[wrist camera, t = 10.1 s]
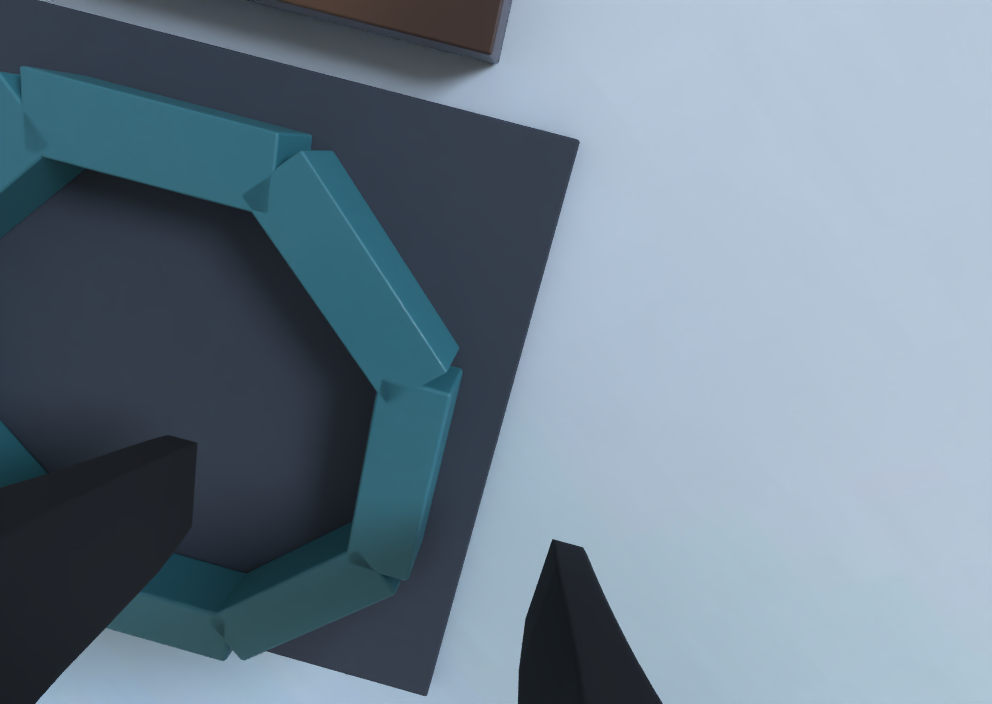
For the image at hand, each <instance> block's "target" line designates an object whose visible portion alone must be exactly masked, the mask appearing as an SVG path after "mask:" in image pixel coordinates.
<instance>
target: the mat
mask: <svg viewBox="0 0 992 704" xmlns="http://www.w3.org/2000/svg"><path fill="white" fill-rule="evenodd" d="M21 66H28V67H35V68H41V69H47V70H53V71H59V72H66V73H72V74H78V75H84V76H89V77H92V78H96V79H100V80H104V81H108V82H112V83H115V84H119V85H123V86H127V87H131V88H135V89H139V90H142V91H146V92H150V93H154V94H158V95H162V96H165V97H169V98H173V99H177V100H181V101H185V102H189V103H192V104H196V105H200V106H204V107H208V108H212V109H215V110H219V111H223V112H227V113H231V114H235V115H239V116H242V117H246V118H250V119H254V120H258V121H262V122H265V123H269V124H273V125H277V126H281V127H285V128H289V129H292V130H296V131H300V132H304V133H308V134H310V135H312V143H311V150H332V151H333V152H334V153H335V155H336V156H337V158H338V159H339V161H340V162H341V164H342V165H343V167H344V169H345V170H346V172H347V173H348V175H349V176H350V178H351V179H352V181H353V183H354V184H355V186H356V187H357V189H358V190H359V192H360V193H361V195H362V197H363V198H364V200H365V201H366V203H367V204H368V206H369V207H370V209H371V211H372V212H373V214H374V215H375V217H376V218H377V220H378V222H379V223H380V225H381V226H382V228H383V229H384V231H385V232H386V234H387V236H388V237H389V239H390V240H391V242H392V243H393V245H394V246H395V248H396V250H397V251H398V253H399V254H400V256H401V257H402V259H403V260H404V262H405V264H406V265H407V267H408V268H409V270H410V271H411V273H412V274H413V276H414V278H415V279H416V281H417V282H418V284H419V285H420V287H421V288H422V290H423V292H424V293H425V295H426V296H427V298H428V299H429V301H430V302H431V304H432V306H433V307H434V309H435V310H436V312H437V313H438V315H439V316H440V318H441V320H442V321H443V323H444V324H445V326H446V327H447V329H448V330H449V332H450V334H451V335H452V337H453V338H454V340H455V341H456V343H457V344H458V346H459V350H458V352H457V354H456V356H455V358H454V359H453V361H452V363H451V365H450V366H454V367H457V368H461V369H462V371H463V374H462V378H461V382H460V386H459V391H458V395H457V399H456V403H455V407H454V411H453V416H452V420H451V424H450V428H449V432H448V436H447V441H446V445H445V449H444V453H443V457H442V462H441V466H440V470H439V474H438V478H437V482H436V487H435V491H434V495H433V499H432V503H431V507H430V512H429V516H428V520H427V524H426V528H425V533H424V537H423V541H422V543H421V546H420V549H419V552H418V554H417V557H416V560H415V563H414V565H413V568H412V571H411V574H410V576H409V578H408V579H407V580H401V581H400V584H399V586H398V589H397V591H396V593H395V594H394V595H393V596H390V597H388V598H386V599H384V600H381V601H379V602H377V603H374V604H372V605H370V606H368V607H365V608H363V609H361V610H358V611H356V612H354V613H352V614H349V615H347V616H345V617H342V618H340V619H338V620H336V621H333V622H331V623H329V624H326V625H324V626H322V627H320V628H317V629H315V630H313V631H310V632H308V633H306V634H304V635H301V636H299V637H297V638H294V639H292V640H290V641H288V642H285V643H283V644H281V645H278V646H276V647H274V648H272V649H269V650H267V651H268V652H271V653H275V654H278V655H282V656H285V657H289V658H292V659H296V660H300V661H303V662H307V663H310V664H314V665H317V666H321V667H324V668H328V669H331V670H335V671H338V672H342V673H345V674H349V675H352V676H356V677H360V678H363V679H367V680H370V681H374V682H377V683H381V684H384V685H388V686H391V687H395V688H398V689H402V690H405V691H409V692H413V693H416V694H420V695H423V696H427V694H428V690H429V686H430V683H431V679H432V675H433V672H434V668H435V665H436V661H437V657H438V654H439V650H440V646H441V643H442V639H443V636H444V632H445V628H446V625H447V621H448V617H449V614H450V610H451V607H452V603H453V599H454V596H455V592H456V588H457V585H458V581H459V578H460V574H461V570H462V567H463V563H464V559H465V556H466V552H467V549H468V545H469V541H470V538H471V534H472V530H473V527H474V523H475V520H476V516H477V512H478V509H479V505H480V501H481V498H482V494H483V491H484V487H485V483H486V480H487V476H488V472H489V469H490V465H491V462H492V458H493V454H494V451H495V447H496V443H497V440H498V436H499V433H500V429H501V425H502V422H503V418H504V414H505V411H506V407H507V404H508V400H509V396H510V393H511V389H512V385H513V382H514V378H515V375H516V371H517V367H518V364H519V360H520V356H521V353H522V349H523V346H524V342H525V338H526V335H527V331H528V327H529V324H530V320H531V317H532V313H533V309H534V306H535V302H536V298H537V295H538V291H539V288H540V284H541V280H542V277H543V273H544V269H545V266H546V262H547V259H548V255H549V251H550V248H551V244H552V240H553V237H554V233H555V230H556V226H557V222H558V219H559V215H560V211H561V208H562V204H563V201H564V197H565V193H566V190H567V186H568V182H569V179H570V175H571V172H572V168H573V164H574V161H575V157H576V153H577V150H578V146H579V140H577V139H573V138H569V137H565V136H562V135H558V134H554V133H550V132H546V131H542V130H538V129H534V128H531V127H527V126H523V125H519V124H515V123H511V122H507V121H504V120H500V119H496V118H492V117H488V116H484V115H480V114H476V113H473V112H469V111H465V110H461V109H457V108H453V107H449V106H445V105H442V104H438V103H434V102H430V101H426V100H422V99H418V98H414V97H411V96H407V95H403V94H399V93H395V92H391V91H387V90H384V89H380V88H376V87H372V86H368V85H364V84H360V83H356V82H353V81H349V80H345V79H341V78H337V77H333V76H329V75H325V74H322V73H318V72H314V71H310V70H306V69H302V68H298V67H294V66H291V65H287V64H283V63H279V62H275V61H271V60H267V59H264V58H260V57H256V56H252V55H248V54H244V53H240V52H236V51H233V50H229V49H225V48H221V47H217V46H213V45H209V44H205V43H202V42H198V41H194V40H190V39H186V38H182V37H178V36H174V35H171V34H167V33H163V32H159V31H155V30H151V29H147V28H144V27H140V26H136V25H132V24H128V23H124V22H120V21H116V20H113V19H109V18H105V17H101V16H97V15H93V14H89V13H85V12H82V11H78V10H74V9H70V8H66V7H62V6H58V5H54V4H51V3H47V2H43V1H39V0H0V72H6V73H13V74H20V67H21ZM375 395H376V390H375V389H374V387H373V386H372V384H371V383H370V382H369V380H368V379H367V377H366V376H365V374H364V373H363V371H362V370H361V369H360V367H359V366H358V364H357V363H356V361H355V360H354V359H353V357H352V356H351V354H350V353H349V351H348V350H347V348H346V347H345V346H344V344H343V343H342V341H341V340H340V338H339V337H338V336H337V334H336V333H335V331H334V330H333V328H332V327H331V326H330V324H329V323H328V321H327V320H326V318H325V317H324V315H323V314H322V313H321V311H320V310H319V308H318V307H317V305H316V304H315V303H314V301H313V300H312V298H311V297H310V295H309V294H308V292H307V291H306V290H305V288H304V287H303V285H302V284H301V282H300V281H299V280H298V278H297V277H296V275H295V274H294V272H293V271H292V270H291V268H290V267H289V265H288V264H287V262H286V261H285V259H284V258H283V257H282V255H281V254H280V252H279V251H278V249H277V248H276V247H275V245H274V244H273V242H272V241H271V239H270V238H269V236H268V235H267V234H266V232H265V231H264V229H263V228H262V226H261V225H260V224H259V222H258V221H257V219H256V218H255V216H254V215H253V213H252V212H249V211H245V210H241V209H238V208H234V207H230V206H226V205H222V204H219V203H215V202H211V201H207V200H203V199H200V198H196V197H192V196H188V195H184V194H181V193H177V192H173V191H169V190H166V189H162V188H158V187H154V186H150V185H147V184H143V183H139V182H135V181H131V180H128V179H124V178H120V177H116V176H112V175H109V174H105V173H101V172H97V171H94V170H90V169H85V170H83V171H82V172H81V173H80V174H78V175H77V176H76V177H75V178H74V179H72V180H71V181H70V182H69V183H67V184H66V185H65V186H64V187H63V188H61V189H60V190H59V191H58V192H56V193H55V194H54V195H53V196H52V197H50V198H49V199H48V200H47V201H45V202H44V203H43V204H42V205H41V206H39V207H38V208H37V209H36V210H34V211H33V212H32V213H31V214H30V215H28V216H27V217H26V218H25V219H23V220H22V221H21V222H20V223H19V224H17V225H16V226H15V227H14V228H12V229H11V230H10V231H9V232H8V233H6V234H5V235H4V236H3V237H1V238H0V420H1V421H2V422H3V423H4V424H5V425H6V426H7V427H8V429H9V430H10V431H11V432H12V433H13V434H14V435H15V436H16V438H17V439H18V440H19V441H20V442H21V443H22V444H23V445H24V447H25V448H26V449H27V450H28V451H29V452H30V453H31V454H32V456H33V457H34V458H35V459H36V460H37V461H38V462H39V463H40V465H41V466H42V467H43V468H44V469H45V470H46V471H47V472H48V473H51V472H54V471H57V470H60V469H63V468H66V467H69V466H72V465H75V464H78V463H81V462H84V461H87V460H90V459H93V458H96V457H99V456H102V455H105V454H108V453H111V452H114V451H117V450H120V449H123V448H126V447H129V446H132V445H135V444H138V443H141V442H144V441H147V440H151V439H154V438H158V437H161V436H165V435H171V436H175V437H178V438H182V439H186V440H189V441H193V442H197V443H198V444H197V459H196V474H195V489H194V504H193V519H192V528H191V529H190V530H189V532H188V533H187V535H186V536H185V537H184V539H183V540H182V542H181V543H180V544H179V546H178V547H177V549H176V550H175V551H174V553H176V554H179V555H183V556H186V557H190V558H194V559H197V560H201V561H204V562H208V563H212V564H215V565H219V566H222V567H226V568H229V569H233V570H237V571H240V572H244V573H248V572H250V571H252V570H254V569H256V568H258V567H260V566H262V565H264V564H266V563H269V562H271V561H273V560H275V559H277V558H279V557H281V556H283V555H285V554H287V553H289V552H291V551H293V550H295V549H297V548H299V547H301V546H303V545H305V544H307V543H309V542H311V541H313V540H315V539H317V538H320V537H322V536H324V535H326V534H328V533H330V532H332V531H334V530H336V529H338V528H340V527H342V526H344V525H346V524H348V523H350V522H352V520H353V515H354V510H355V504H356V499H357V493H358V488H359V482H360V477H361V472H362V466H363V461H364V455H365V450H366V444H367V439H368V434H369V428H370V423H371V417H372V412H373V406H374V401H375Z"/></svg>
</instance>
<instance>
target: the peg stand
mask: <svg viewBox="0 0 992 704" xmlns="http://www.w3.org/2000/svg"><path fill="white" fill-rule="evenodd" d="M247 1H251V2H255V3H259V4H263V5H267V6H271V7H275V8H279V9H283V10H287V11H290V12H294V13H298V14H302V15H306V16H310V17H314V18H318V19H322V20H326V21H330V22H333V23H337V24H341V25H345V26H349V27H353V28H357V29H361V30H365V31H369V32H372V33H376V34H380V35H384V36H388V37H392V38H396V39H400V40H404V41H408V42H412V43H415V44H419V45H423V46H427V47H431V48H435V49H439V50H443V51H447V52H451V53H454V54H458V55H462V56H466V57H470V58H474V59H478V60H482V61H486V62H490V63H494V64H497V63H498V62H499V58H500V54H501V49H502V45H503V40H504V35H505V31H506V26H507V22H508V17H509V13H510V8H511V4H512V0H247Z"/></svg>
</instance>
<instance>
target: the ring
mask: <svg viewBox="0 0 992 704" xmlns="http://www.w3.org/2000/svg"><path fill="white" fill-rule="evenodd" d="M311 143H312V135H310V134H308V133H304V132H300V131H296V130H292V129H289V128H285V127H281V126H277V125H273V124H269V123H265V122H262V121H258V120H254V119H250V118H246V117H242V116H239V115H235V114H231V113H227V112H223V111H219V110H215V109H212V108H208V107H204V106H200V105H196V104H192V103H189V102H185V101H181V100H177V99H173V98H169V97H165V96H162V95H158V94H154V93H150V92H146V91H142V90H139V89H135V88H131V87H127V86H123V85H119V84H115V83H112V82H108V81H104V80H100V79H96V78H92V77H89V76H84V75H78V74H72V73H66V72H59V71H53V70H47V69H41V68H35V67H28V66H21V67H20V74H13V73H6V72H0V238H1V237H3V236H4V235H5V234H6V233H8V232H9V231H10V230H11V229H12V228H14V227H15V226H16V225H17V224H19V223H20V222H21V221H22V220H23V219H25V218H26V217H27V216H28V215H30V214H31V213H32V212H33V211H34V210H36V209H37V208H38V207H39V206H41V205H42V204H43V203H44V202H45V201H47V200H48V199H49V198H50V197H52V196H53V195H54V194H55V193H56V192H58V191H59V190H60V189H61V188H63V187H64V186H65V185H66V184H67V183H69V182H70V181H71V180H72V179H74V178H75V177H76V176H77V175H78V174H80V173H81V172H82V171H83V170H85V169H90V170H94V171H97V172H101V173H105V174H109V175H112V176H116V177H120V178H124V179H128V180H131V181H135V182H139V183H143V184H147V185H150V186H154V187H158V188H162V189H166V190H169V191H173V192H177V193H181V194H184V195H188V196H192V197H196V198H200V199H203V200H207V201H211V202H215V203H219V204H222V205H226V206H230V207H234V208H238V209H241V210H245V211H249V212H252V213H253V215H254V216H255V218H256V219H257V221H258V222H259V224H260V225H261V226H262V228H263V229H264V231H265V232H266V234H267V235H268V236H269V238H270V239H271V241H272V242H273V244H274V245H275V247H276V248H277V249H278V251H279V252H280V254H281V255H282V257H283V258H284V259H285V261H286V262H287V264H288V265H289V267H290V268H291V270H292V271H293V272H294V274H295V275H296V277H297V278H298V280H299V281H300V282H301V284H302V285H303V287H304V288H305V290H306V291H307V292H308V294H309V295H310V297H311V298H312V300H313V301H314V303H315V304H316V305H317V307H318V308H319V310H320V311H321V313H322V314H323V315H324V317H325V318H326V320H327V321H328V323H329V324H330V326H331V327H332V328H333V330H334V331H335V333H336V334H337V336H338V337H339V338H340V340H341V341H342V343H343V344H344V346H345V347H346V348H347V350H348V351H349V353H350V354H351V356H352V357H353V359H354V360H355V361H356V363H357V364H358V366H359V367H360V369H361V370H362V371H363V373H364V374H365V376H366V377H367V379H368V380H369V382H370V383H371V384H372V386H373V387H374V389H375V390H376V395H375V401H374V406H373V412H372V417H371V423H370V428H369V434H368V439H367V444H366V450H365V455H364V461H363V466H362V472H361V477H360V482H359V488H358V493H357V499H356V504H355V510H354V515H353V520H352V522H350V523H348V524H346V525H344V526H342V527H340V528H338V529H336V530H334V531H332V532H330V533H328V534H326V535H324V536H322V537H320V538H317V539H315V540H313V541H311V542H309V543H307V544H305V545H303V546H301V547H299V548H297V549H295V550H293V551H291V552H289V553H287V554H285V555H283V556H281V557H279V558H277V559H275V560H273V561H271V562H269V563H266V564H264V565H262V566H260V567H258V568H256V569H254V570H252V571H250V572H248V573H244V572H240V571H237V570H233V569H229V568H226V567H222V566H219V565H215V564H212V563H208V562H204V561H201V560H197V559H194V558H190V557H186V556H183V555H179V554H176V553H173V554H172V555H171V557H170V558H169V559H168V560H167V562H166V563H165V564H164V566H163V567H162V568H161V570H160V571H159V572H158V573H157V574H156V575H155V576H154V577H153V579H152V580H151V581H150V582H149V583H148V584H147V585H146V586H145V587H144V588H143V589H142V590H141V591H140V592H139V593H138V595H137V596H136V597H135V598H134V599H133V600H132V601H131V602H130V603H129V604H128V605H127V606H126V607H125V608H124V609H123V610H122V611H121V612H120V613H119V614H118V616H117V617H116V618H115V619H114V620H113V621H112V622H111V623H110V624H109V625H108V626H107V627H106V628H108V629H112V630H115V631H119V632H122V633H126V634H129V635H133V636H136V637H140V638H143V639H147V640H150V641H154V642H157V643H161V644H164V645H168V646H172V647H175V648H179V649H182V650H186V651H189V652H193V653H196V654H200V655H203V656H207V657H210V658H214V659H217V660H221V661H225V660H226V659H227V657H228V656H229V654H230V653H231V651H232V650H233V651H234V652H235V653H236V654H237V655H238V657H239V658H240V659H241V660H246V659H249V658H251V657H253V656H256V655H258V654H260V653H262V652H265V651H267V650H269V649H272V648H274V647H276V646H278V645H281V644H283V643H285V642H288V641H290V640H292V639H294V638H297V637H299V636H301V635H304V634H306V633H308V632H310V631H313V630H315V629H317V628H320V627H322V626H324V625H326V624H329V623H331V622H333V621H336V620H338V619H340V618H342V617H345V616H347V615H349V614H352V613H354V612H356V611H358V610H361V609H363V608H365V607H368V606H370V605H372V604H374V603H377V602H379V601H381V600H384V599H386V598H388V597H390V596H393V595H394V594H395V593H396V591H397V589H398V586H399V584H400V581H401V580H407V579H408V578H409V576H410V574H411V571H412V568H413V565H414V563H415V560H416V557H417V554H418V552H419V549H420V546H421V543H422V541H423V537H424V533H425V528H426V524H427V520H428V516H429V512H430V507H431V503H432V499H433V495H434V491H435V487H436V482H437V478H438V474H439V470H440V466H441V462H442V457H443V453H444V449H445V445H446V441H447V436H448V432H449V428H450V424H451V420H452V416H453V411H454V407H455V403H456V399H457V395H458V391H459V386H460V382H461V378H462V374H463V371H462V369H461V368H457V367H454V366H450V365H451V363H452V361H453V359H454V358H455V356H456V354H457V352H458V350H459V346H458V344H457V343H456V341H455V340H454V338H453V337H452V335H451V334H450V332H449V330H448V329H447V327H446V326H445V324H444V323H443V321H442V320H441V318H440V316H439V315H438V313H437V312H436V310H435V309H434V307H433V306H432V304H431V302H430V301H429V299H428V298H427V296H426V295H425V293H424V292H423V290H422V288H421V287H420V285H419V284H418V282H417V281H416V279H415V278H414V276H413V274H412V273H411V271H410V270H409V268H408V267H407V265H406V264H405V262H404V260H403V259H402V257H401V256H400V254H399V253H398V251H397V250H396V248H395V246H394V245H393V243H392V242H391V240H390V239H389V237H388V236H387V234H386V232H385V231H384V229H383V228H382V226H381V225H380V223H379V222H378V220H377V218H376V217H375V215H374V214H373V212H372V211H371V209H370V207H369V206H368V204H367V203H366V201H365V200H364V198H363V197H362V195H361V193H360V192H359V190H358V189H357V187H356V186H355V184H354V183H353V181H352V179H351V178H350V176H349V175H348V173H347V172H346V170H345V169H344V167H343V165H342V164H341V162H340V161H339V159H338V158H337V156H336V155H335V153H334V152H333V151H332V150H311ZM45 474H48V472H47V471H46V470H45V469H44V468H43V467H42V466H41V465H40V463H39V462H38V461H37V460H36V459H35V458H34V457H33V456H32V454H31V453H30V452H29V451H28V450H27V449H26V448H25V447H24V445H23V444H22V443H21V442H20V441H19V440H18V439H17V438H16V436H15V435H14V434H13V433H12V432H11V431H10V430H9V429H8V427H7V426H6V425H5V424H4V423H3V422H2V421H1V420H0V488H1V487H5V486H8V485H11V484H15V483H18V482H21V481H25V480H28V479H31V478H35V477H38V476H41V475H45Z"/></svg>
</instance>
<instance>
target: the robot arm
mask: <svg viewBox="0 0 992 704" xmlns="http://www.w3.org/2000/svg"><path fill="white" fill-rule="evenodd" d="M197 444H198V443H197V442H193V441H189V440H186V439H182V438H178V437H175V436H171V435H165V436H161V437H158V438H154V439H151V440H147V441H144V442H141V443H138V444H135V445H132V446H129V447H126V448H123V449H120V450H117V451H114V452H111V453H108V454H105V455H102V456H99V457H96V458H93V459H90V460H87V461H84V462H81V463H78V464H75V465H72V466H69V467H66V468H63V469H60V470H57V471H54V472H51V473H48V474H45V475H41V476H38V477H35V478H31V479H28V480H25V481H21V482H18V483H15V484H11V485H8V486H5V487H1V488H0V704H35V703H36V702H37V701H38V700H39V699H40V697H41V696H42V695H43V694H44V693H45V692H46V691H47V690H48V688H49V687H50V686H51V685H52V684H53V683H54V682H55V681H56V679H57V678H58V677H59V676H60V675H61V674H62V673H63V672H64V671H65V670H66V669H67V668H68V666H69V665H70V664H71V663H72V662H73V661H74V660H75V659H76V658H77V657H78V656H79V655H80V654H81V653H82V652H83V651H84V650H85V649H86V648H87V647H88V646H89V645H90V644H91V643H92V642H93V640H94V639H95V638H96V637H97V636H98V635H99V634H100V633H101V632H102V631H103V630H104V629H105V628H106V627H107V626H108V625H109V624H110V623H111V622H112V621H113V620H114V619H115V618H116V617H117V616H118V614H119V613H120V612H121V611H122V610H123V609H124V608H125V607H126V606H127V605H128V604H129V603H130V602H131V601H132V600H133V599H134V598H135V597H136V596H137V595H138V593H139V592H140V591H141V590H142V589H143V588H144V587H145V586H146V585H147V584H148V583H149V582H150V581H151V580H152V579H153V577H154V576H155V575H156V574H157V573H158V572H159V571H160V570H161V568H162V567H163V566H164V564H165V563H166V562H167V560H168V559H169V558H170V557H171V555H172V554H173V553H174V551H175V550H176V549H177V547H178V546H179V544H180V543H181V542H182V540H183V539H184V537H185V536H186V535H187V533H188V532H189V530H190V529H191V528H192V519H193V504H194V489H195V474H196V459H197ZM518 704H663V703H662V702H661V700H660V699H659V697H658V695H657V694H656V692H655V690H654V689H653V687H652V685H651V684H650V682H649V680H648V678H647V677H646V675H645V673H644V671H643V670H642V668H641V666H640V664H639V663H638V661H637V659H636V657H635V655H634V653H633V652H632V650H631V648H630V646H629V644H628V642H627V640H626V638H625V636H624V634H623V632H622V630H621V628H620V626H619V624H618V622H617V620H616V618H615V616H614V614H613V612H612V610H611V608H610V606H609V604H608V602H607V599H606V597H605V595H604V593H603V591H602V588H601V586H600V584H599V582H598V579H597V577H596V575H595V572H594V570H593V568H592V565H591V563H590V561H589V558H588V556H587V554H586V552H585V550H584V548H583V547H579V546H576V545H572V544H568V543H565V542H561V541H557V540H554V539H552V542H551V545H550V548H549V551H548V554H547V557H546V560H545V563H544V566H543V569H542V572H541V575H540V578H539V581H538V584H537V587H536V590H535V593H534V596H533V598H532V601H531V604H530V607H529V610H528V613H527V616H526V620H525V627H524V635H523V642H522V650H521V658H520V666H519V686H518Z"/></svg>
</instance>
